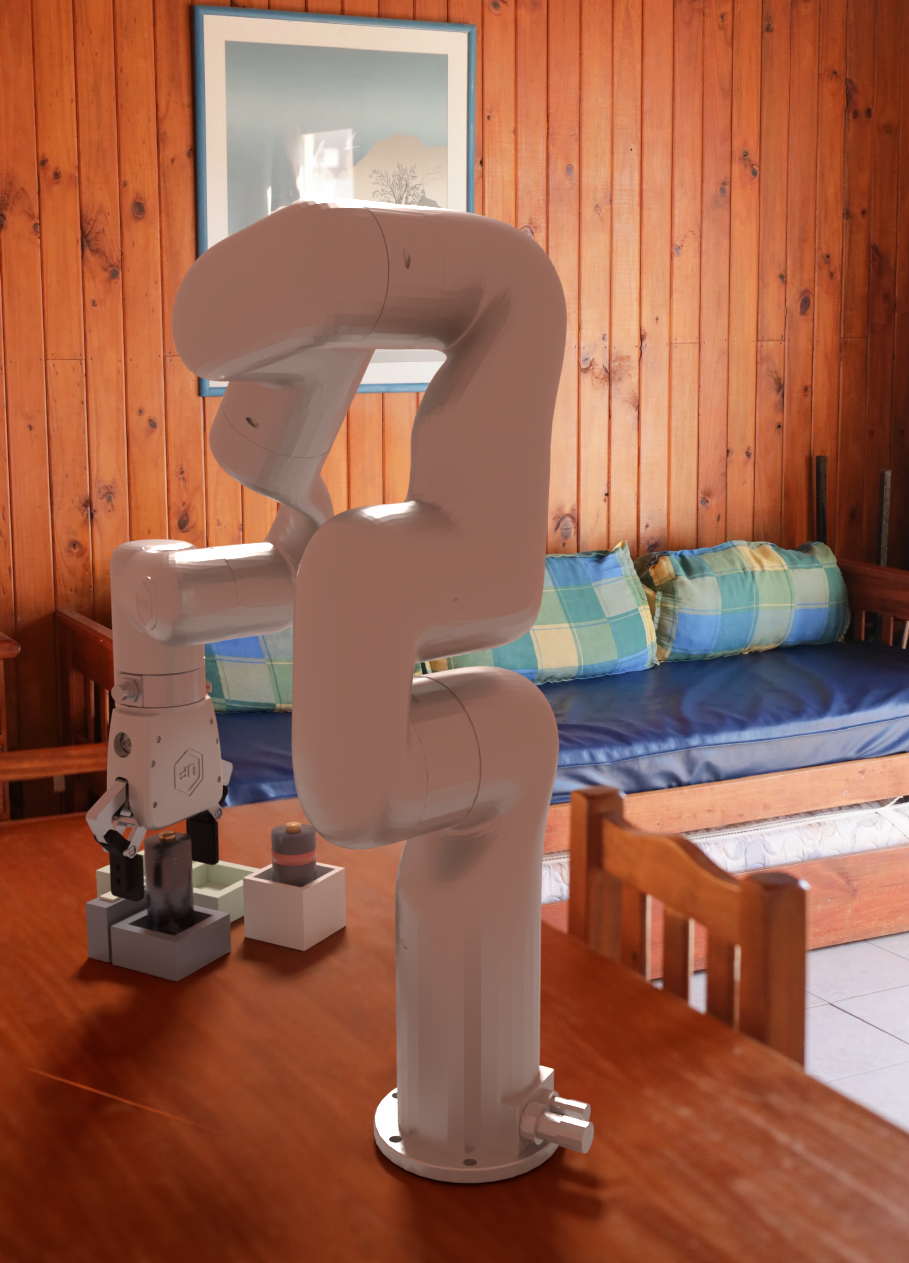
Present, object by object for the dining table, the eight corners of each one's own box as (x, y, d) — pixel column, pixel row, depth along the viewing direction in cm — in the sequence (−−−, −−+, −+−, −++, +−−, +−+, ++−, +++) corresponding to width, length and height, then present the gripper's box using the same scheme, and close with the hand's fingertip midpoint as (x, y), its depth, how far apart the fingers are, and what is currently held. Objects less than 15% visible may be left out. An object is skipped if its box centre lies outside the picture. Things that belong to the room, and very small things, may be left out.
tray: (271, 900, 131) (270, 871, 131) (219, 929, 124) (217, 898, 124) (153, 874, 138) (152, 846, 138) (97, 899, 132) (96, 870, 131)
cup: (345, 925, 125) (344, 819, 123) (304, 951, 119) (301, 840, 118) (287, 912, 128) (285, 809, 126) (244, 936, 123) (241, 829, 121)
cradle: (231, 951, 119) (229, 894, 119) (177, 981, 113) (174, 922, 112) (144, 929, 124) (141, 875, 123) (87, 957, 118) (84, 900, 117)
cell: (204, 935, 119) (200, 830, 117) (174, 951, 115) (169, 843, 113) (169, 926, 120) (165, 823, 119) (138, 942, 117) (133, 836, 115)
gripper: (122, 714, 105) (130, 922, 108) (259, 673, 120) (262, 856, 123) (51, 702, 108) (61, 904, 112) (192, 663, 123) (197, 842, 126)
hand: (166, 879), depth 117 cm, fingers open, 9 cm apart
